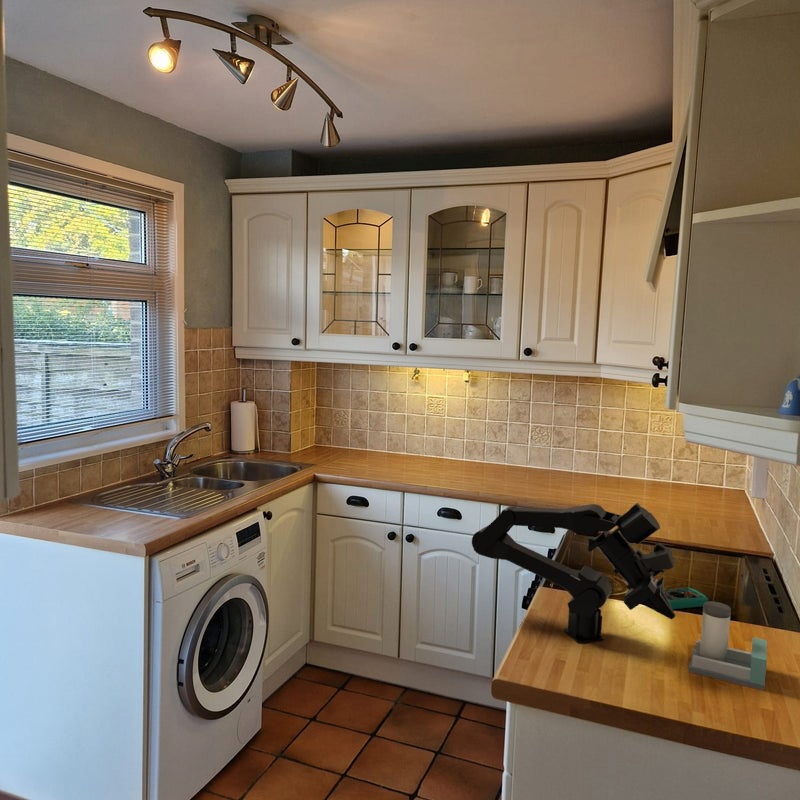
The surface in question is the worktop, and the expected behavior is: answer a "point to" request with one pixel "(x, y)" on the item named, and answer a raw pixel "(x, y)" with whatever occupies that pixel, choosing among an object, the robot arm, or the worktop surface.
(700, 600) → the digital multimeter
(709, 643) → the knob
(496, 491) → the worktop surface
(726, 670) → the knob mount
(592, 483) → the worktop surface
